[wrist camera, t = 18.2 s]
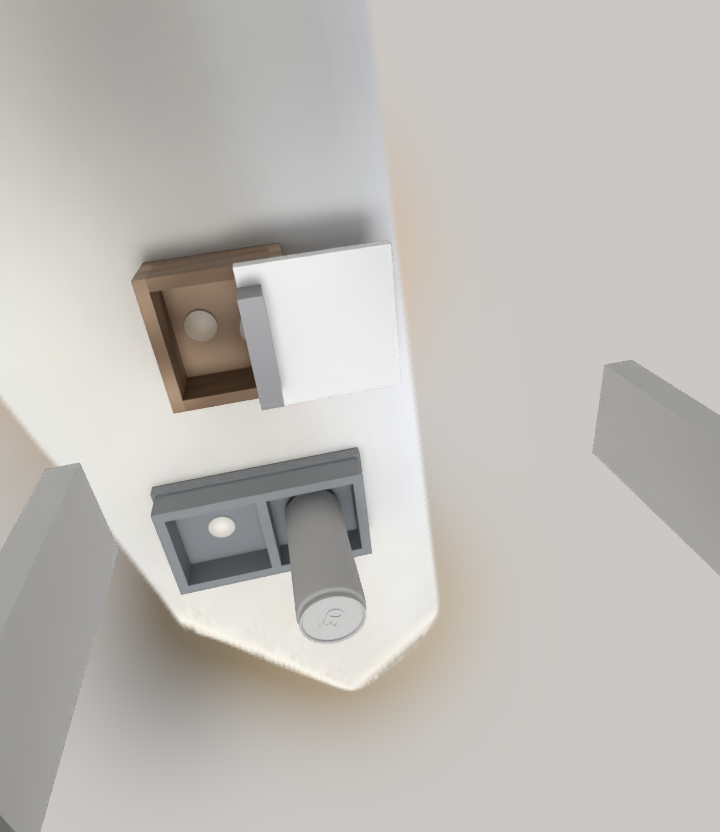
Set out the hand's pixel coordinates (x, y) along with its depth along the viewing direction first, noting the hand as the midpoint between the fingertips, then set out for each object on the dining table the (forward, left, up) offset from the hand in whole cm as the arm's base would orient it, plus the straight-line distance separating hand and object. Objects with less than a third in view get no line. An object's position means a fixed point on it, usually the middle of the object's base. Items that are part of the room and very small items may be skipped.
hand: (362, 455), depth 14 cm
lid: (+5, +1, -22) cm, 22 cm away
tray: (+5, -5, -27) cm, 27 cm away
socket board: (+22, -5, -27) cm, 35 cm away
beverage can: (+22, -2, -26) cm, 34 cm away
